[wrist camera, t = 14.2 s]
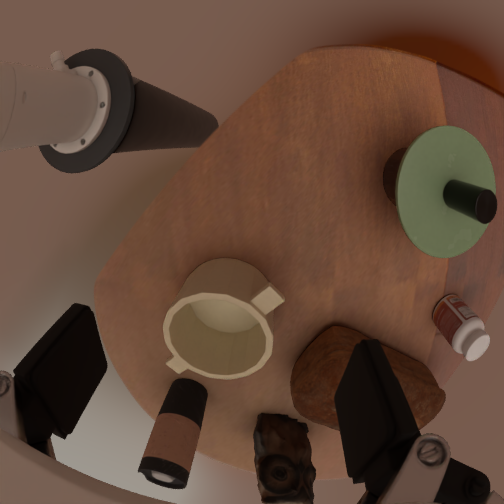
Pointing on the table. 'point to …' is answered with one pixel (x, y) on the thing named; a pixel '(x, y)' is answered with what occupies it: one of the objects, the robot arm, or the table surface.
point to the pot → (222, 320)
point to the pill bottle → (461, 327)
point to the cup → (392, 173)
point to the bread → (332, 369)
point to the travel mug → (175, 435)
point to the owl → (283, 460)
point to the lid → (445, 191)
